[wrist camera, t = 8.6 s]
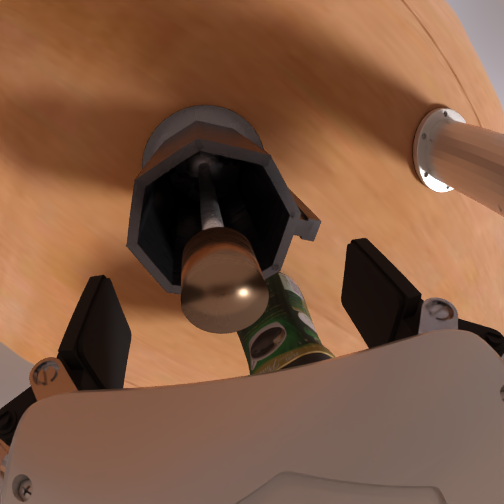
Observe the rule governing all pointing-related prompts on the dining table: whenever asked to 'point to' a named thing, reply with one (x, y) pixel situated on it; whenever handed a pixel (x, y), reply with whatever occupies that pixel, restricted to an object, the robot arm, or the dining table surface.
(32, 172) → the dining table surface
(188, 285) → the plunger
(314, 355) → the coffee jar
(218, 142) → the press carafe
